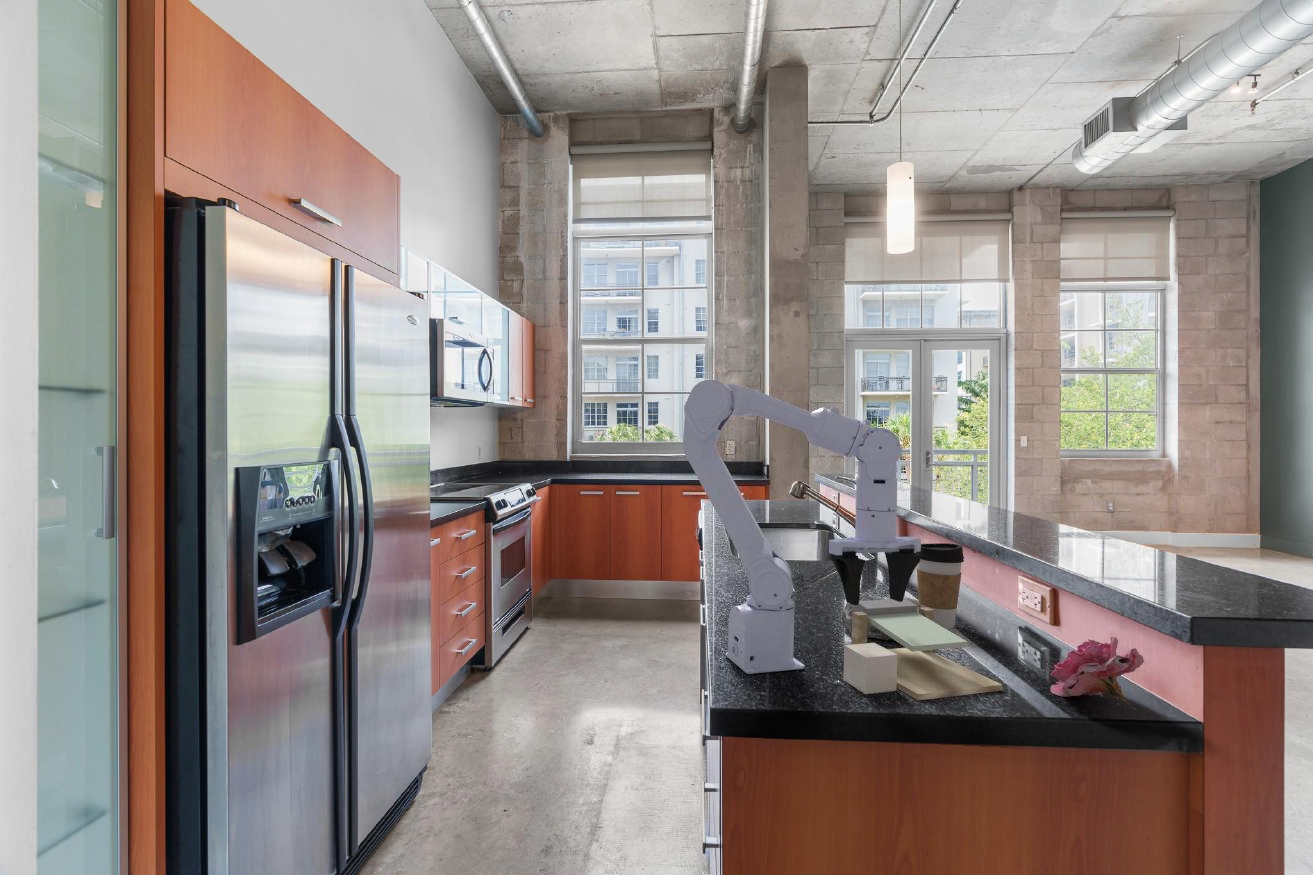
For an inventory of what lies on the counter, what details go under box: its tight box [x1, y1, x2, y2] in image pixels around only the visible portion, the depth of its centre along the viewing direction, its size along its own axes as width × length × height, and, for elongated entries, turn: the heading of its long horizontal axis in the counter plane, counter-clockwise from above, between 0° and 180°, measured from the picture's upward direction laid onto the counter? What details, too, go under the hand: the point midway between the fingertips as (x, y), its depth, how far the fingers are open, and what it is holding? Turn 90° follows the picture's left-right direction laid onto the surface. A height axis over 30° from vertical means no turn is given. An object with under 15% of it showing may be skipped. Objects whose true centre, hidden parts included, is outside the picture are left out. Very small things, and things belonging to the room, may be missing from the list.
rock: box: [841, 593, 921, 641], centre depth 110 cm, size 13×6×15 cm
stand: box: [850, 607, 1003, 701], centre depth 91 cm, size 14×16×8 cm
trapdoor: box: [855, 597, 968, 652], centre depth 94 cm, size 9×14×3 cm
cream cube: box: [842, 642, 897, 695], centre depth 86 cm, size 5×5×5 cm
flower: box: [1049, 635, 1145, 710], centre depth 83 cm, size 11×10×10 cm
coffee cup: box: [914, 542, 965, 630], centre depth 117 cm, size 8×8×15 cm
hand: (874, 601), depth 91 cm, fingers open, 7 cm apart
